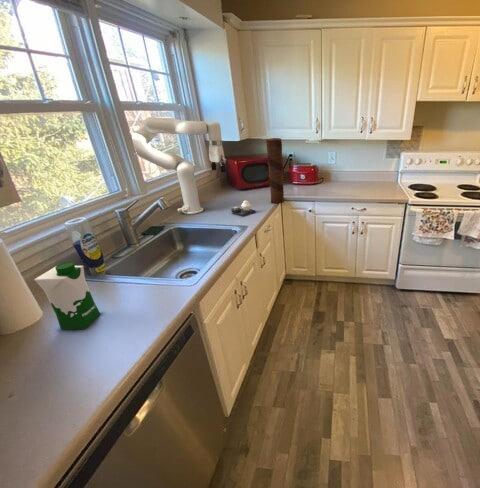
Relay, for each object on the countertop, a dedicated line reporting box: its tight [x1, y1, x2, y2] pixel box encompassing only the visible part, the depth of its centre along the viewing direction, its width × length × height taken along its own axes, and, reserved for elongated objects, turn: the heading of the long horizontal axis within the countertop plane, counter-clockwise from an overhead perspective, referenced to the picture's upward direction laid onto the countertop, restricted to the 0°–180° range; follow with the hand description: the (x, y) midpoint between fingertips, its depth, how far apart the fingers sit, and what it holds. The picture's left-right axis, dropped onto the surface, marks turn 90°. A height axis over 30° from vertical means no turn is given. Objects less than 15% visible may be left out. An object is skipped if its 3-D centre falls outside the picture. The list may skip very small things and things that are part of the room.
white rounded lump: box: [240, 199, 252, 211], centre depth 184 cm, size 6×6×7 cm
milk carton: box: [33, 261, 101, 330], centre depth 83 cm, size 9×9×20 cm
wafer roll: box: [265, 137, 285, 204], centre depth 200 cm, size 10×11×45 cm
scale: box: [230, 207, 256, 218], centre depth 185 cm, size 12×11×3 cm
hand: (218, 171), depth 182 cm, fingers open, 9 cm apart
